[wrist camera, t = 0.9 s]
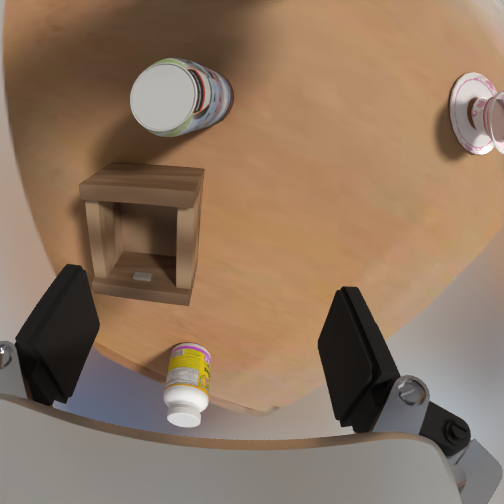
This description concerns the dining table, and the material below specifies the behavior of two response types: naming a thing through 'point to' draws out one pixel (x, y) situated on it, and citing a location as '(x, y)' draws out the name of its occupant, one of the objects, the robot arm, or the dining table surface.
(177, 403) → the supplement bottle
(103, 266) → the holder
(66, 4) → the dining table surface
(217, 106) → the beverage can
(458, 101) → the teacup
